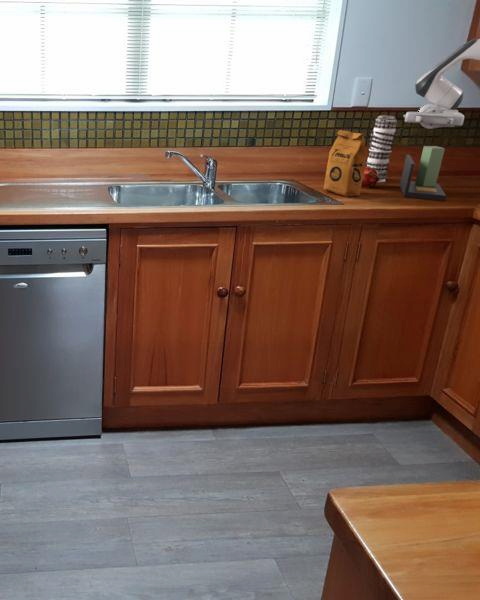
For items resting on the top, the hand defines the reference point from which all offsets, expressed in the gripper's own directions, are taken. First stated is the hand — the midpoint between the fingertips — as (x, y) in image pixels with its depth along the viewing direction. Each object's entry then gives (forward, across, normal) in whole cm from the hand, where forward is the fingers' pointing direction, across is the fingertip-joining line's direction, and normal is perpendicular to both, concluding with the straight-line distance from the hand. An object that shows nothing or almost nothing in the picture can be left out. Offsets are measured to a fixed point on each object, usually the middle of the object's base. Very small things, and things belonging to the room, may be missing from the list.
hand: (435, 120), depth 231 cm
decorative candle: (0, -17, +25) cm, 30 cm away
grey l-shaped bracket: (+18, -1, +24) cm, 30 cm away
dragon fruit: (+15, -21, +25) cm, 36 cm away
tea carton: (+12, 0, +22) cm, 25 cm away
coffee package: (+33, -29, +25) cm, 50 cm away
